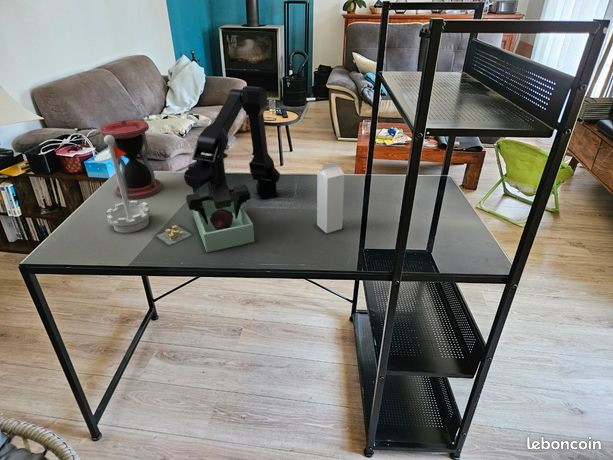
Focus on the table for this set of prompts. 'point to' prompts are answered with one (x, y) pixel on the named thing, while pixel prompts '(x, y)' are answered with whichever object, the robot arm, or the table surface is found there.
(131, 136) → the hourglass
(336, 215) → the milk
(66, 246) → the table surface
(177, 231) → the dice set
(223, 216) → the icecream
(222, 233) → the green open box
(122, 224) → the flag stand
